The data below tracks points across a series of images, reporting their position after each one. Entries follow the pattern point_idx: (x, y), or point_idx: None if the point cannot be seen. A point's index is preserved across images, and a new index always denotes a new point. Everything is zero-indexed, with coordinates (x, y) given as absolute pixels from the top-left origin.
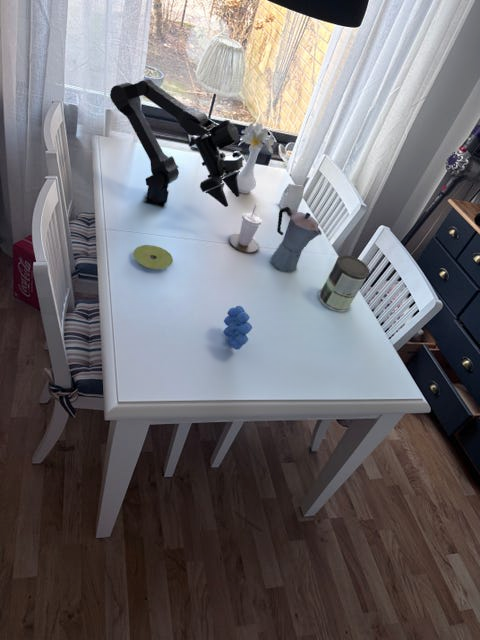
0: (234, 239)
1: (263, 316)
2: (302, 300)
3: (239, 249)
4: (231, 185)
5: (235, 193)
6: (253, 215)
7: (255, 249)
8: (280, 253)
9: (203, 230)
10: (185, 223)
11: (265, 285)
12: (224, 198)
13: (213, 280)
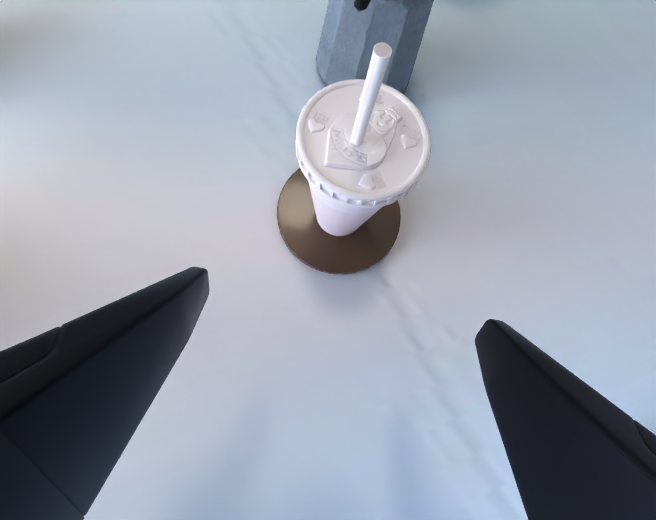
0: (343, 252)
1: (650, 100)
2: (505, 12)
3: (399, 219)
4: (105, 421)
5: (189, 315)
6: (337, 131)
7: None
8: (419, 39)
9: (354, 397)
10: (356, 499)
11: (519, 110)
12: (598, 394)
13: (622, 262)
